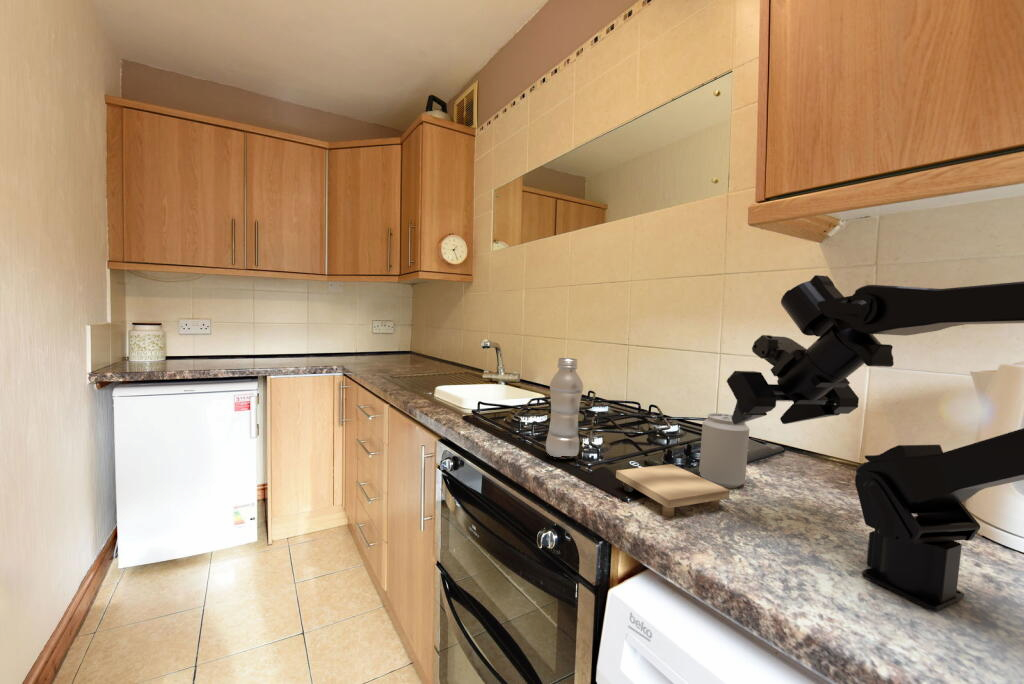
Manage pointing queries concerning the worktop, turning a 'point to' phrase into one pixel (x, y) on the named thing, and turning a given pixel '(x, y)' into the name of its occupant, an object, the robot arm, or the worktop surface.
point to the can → (723, 450)
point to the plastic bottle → (564, 410)
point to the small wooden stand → (673, 486)
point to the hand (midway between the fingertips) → (758, 421)
